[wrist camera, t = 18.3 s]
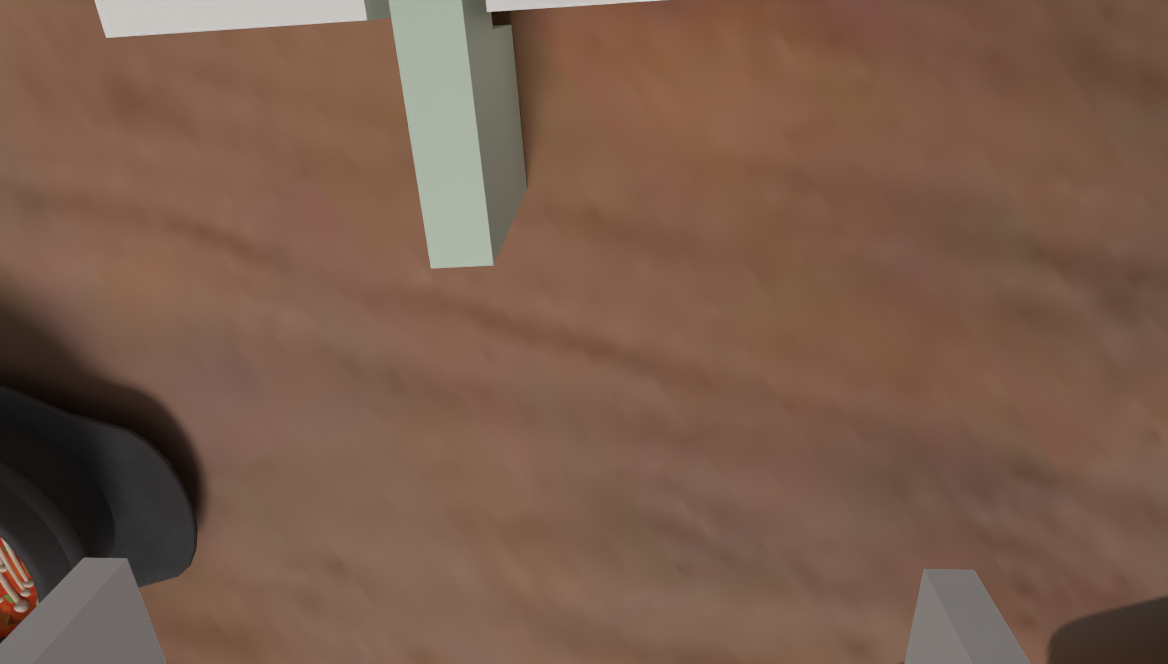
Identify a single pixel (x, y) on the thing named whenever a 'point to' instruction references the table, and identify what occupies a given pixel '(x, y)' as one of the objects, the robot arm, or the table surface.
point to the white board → (265, 13)
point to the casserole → (82, 503)
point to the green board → (461, 125)
